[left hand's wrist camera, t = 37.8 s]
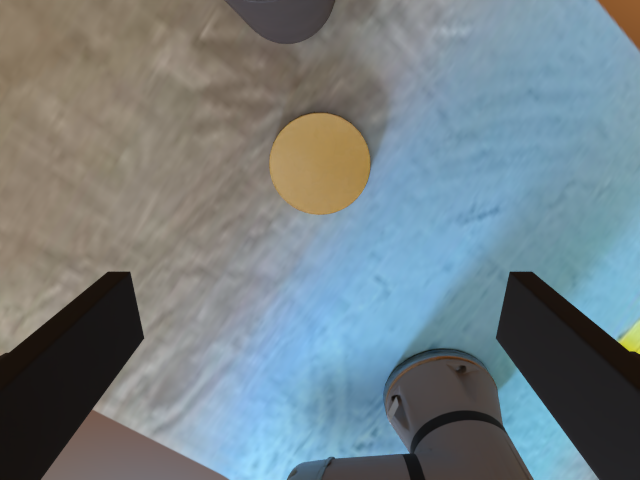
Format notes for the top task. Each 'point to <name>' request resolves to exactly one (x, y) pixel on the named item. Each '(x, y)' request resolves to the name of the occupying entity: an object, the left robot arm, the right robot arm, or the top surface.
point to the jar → (284, 17)
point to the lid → (319, 163)
